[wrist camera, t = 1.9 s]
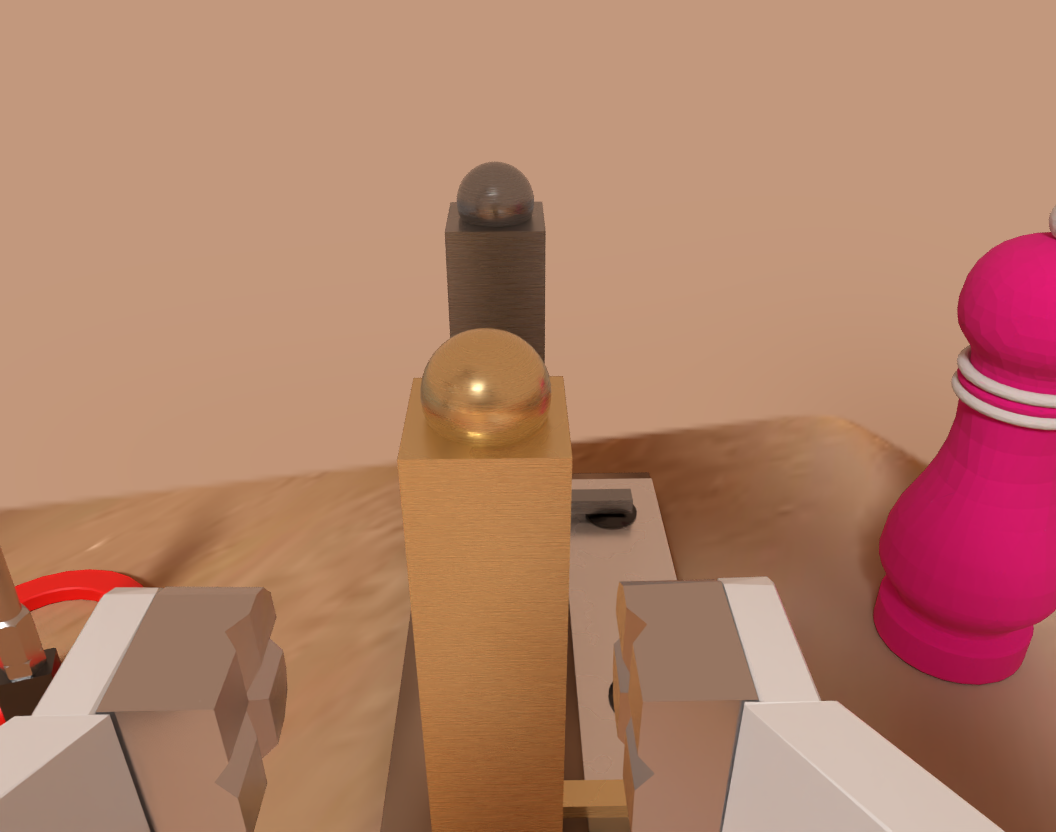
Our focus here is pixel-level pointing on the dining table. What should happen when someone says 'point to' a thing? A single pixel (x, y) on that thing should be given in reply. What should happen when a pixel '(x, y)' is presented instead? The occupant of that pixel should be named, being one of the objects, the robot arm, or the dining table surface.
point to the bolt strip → (608, 615)
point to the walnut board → (407, 776)
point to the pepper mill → (984, 485)
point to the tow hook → (13, 642)
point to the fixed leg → (506, 277)
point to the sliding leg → (492, 587)
